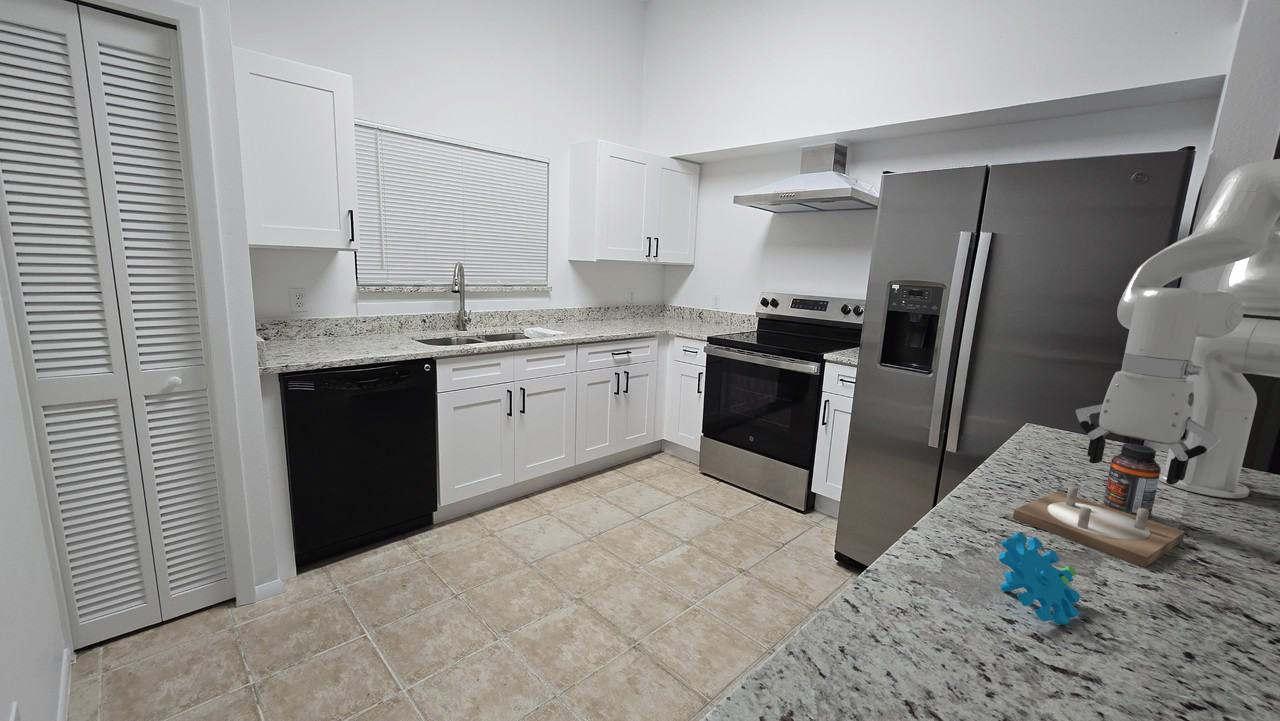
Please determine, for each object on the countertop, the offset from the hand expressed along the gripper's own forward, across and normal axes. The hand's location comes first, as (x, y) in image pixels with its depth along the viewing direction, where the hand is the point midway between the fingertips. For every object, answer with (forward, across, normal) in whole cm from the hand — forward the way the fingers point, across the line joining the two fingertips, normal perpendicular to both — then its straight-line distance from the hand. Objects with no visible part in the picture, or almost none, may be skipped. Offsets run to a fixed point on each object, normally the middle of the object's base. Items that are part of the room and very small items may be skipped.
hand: (1131, 472), depth 87 cm
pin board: (+7, 0, +11) cm, 13 cm away
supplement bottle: (+7, 0, -1) cm, 7 cm away
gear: (+9, -5, +41) cm, 42 cm away
